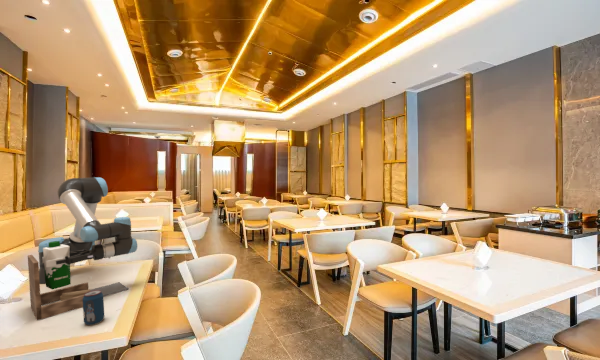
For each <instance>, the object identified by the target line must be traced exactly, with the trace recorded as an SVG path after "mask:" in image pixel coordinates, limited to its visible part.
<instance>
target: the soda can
mask: <svg viewBox="0 0 600 360" xmlns="http://www.w3.org/2000/svg"><path fill="white" fill-rule="evenodd" d="M104 301H105V300H104V297H103V294H102V292H101V290H93V291H89V292H87V293H85V294H84V297H83V307H82V314H83V315H82V316H83V322H84V324H85V325H87V326H95V325H98V324H100V323H101V322H102V321H103V320H104V318H105V304H104Z"/></svg>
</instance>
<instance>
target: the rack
mask: <svg viewBox="0 0 600 360" xmlns="http://www.w3.org/2000/svg"><path fill="white" fill-rule="evenodd" d="M27 265H28V267H27V268H28V280H29V281H28V283H29V297H30V308H31V310H32V313H33V315H34V316H35V319H36V321H41V320H44V319H47V318H50V317H54V316H57V315H61V314H64V313H67V312H71V311H74V310H77V309H81V308H83V297H84V295H81V296H77V297H73V298H70V299H66V300H62V301H60V296H61V295H62V294H63V293H70V292H76V291H83V290H89V282H87V281H86V282H82V283H79V284H75V285H69V286H67V287H66V286H65V287H61V288H57V289H53V290H51V291H47V292H43V293H41V286H40V285H41V283H40V281H39V269H40V266H39V261H38V260H37V259H36V258H35V257H34V255H33V254H28V255H27Z"/></svg>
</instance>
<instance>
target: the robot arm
mask: <svg viewBox="0 0 600 360" xmlns="http://www.w3.org/2000/svg"><path fill="white" fill-rule="evenodd" d="M108 189H109V188H108V184H107V181H106V180H105V179H104V178H102V177H95V176H93V177H71V178H68V179H66V180H65V181H63V182H62V183H60V185H59V186H58V189H57V198H58V200H59V201H60V202H61V204H64V205H65V206H66V207H67V209H68V210H69V212H70V213H71V214H72V216H73V218H74V219H75V222H74V223H75V224H74V227H73V231H72V232H70V234H69V237H68V238H64V237H60V236H59V237H54V238H49V239H46V240H43V241H41V242H39V244H38V250H37V251H38V260H39V261H38V265H39V281H40V284H46V282H45V272H44V255H43V248H46V247H49V242H53V241H60V245H61V244H63V245H68V246H70V249H69V256H70V257H68V256H65V258H59V259H54V260H49V261H46V267H51V266H56V265H61V264H65V263H66V264H70V265H72V264H75V263H80V262H84V261H88V260H93V261H100V260H103V259H111V258H113V257H117V256H124V255H129V254H133V253H135V252H137V250H138V240H137V239H136V238H135V237H132V223H131V222H132V221H131V218H130V217H128V216H121V217H116V218H114V219H113V221H112V222H108V223H107V222H106V223H102V224H101V223H100V221H99V220H98V218H97V217H96V216H95V215H96V210H97V207H98V204H99V203H101V201H102V199H103V198H105V197H106V196H107V195H108V191H109V190H108ZM111 238H114V241H107V242H105V243H104V242H103V243H98V244H96V243H95V242H96V241H101V240H107V239H111Z"/></svg>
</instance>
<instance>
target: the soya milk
mask: <svg viewBox="0 0 600 360" xmlns="http://www.w3.org/2000/svg"><path fill="white" fill-rule="evenodd" d="M69 249H70V246H68V245H63V244H61V245H60V241H53V242H49V247H46V248H43V255H44V272H45V282H46V283H45V287H46V288H48V289H51V291H54V290H57V289H61V288H64V287H66V286H67V287H68V286H71V285H72V281H71V280H72V279H71V264H66V263H65V264H61V265H56V266H51V267H46V261H49V260H54V259H59V258H65V256H68V257H70V256H69Z"/></svg>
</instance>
